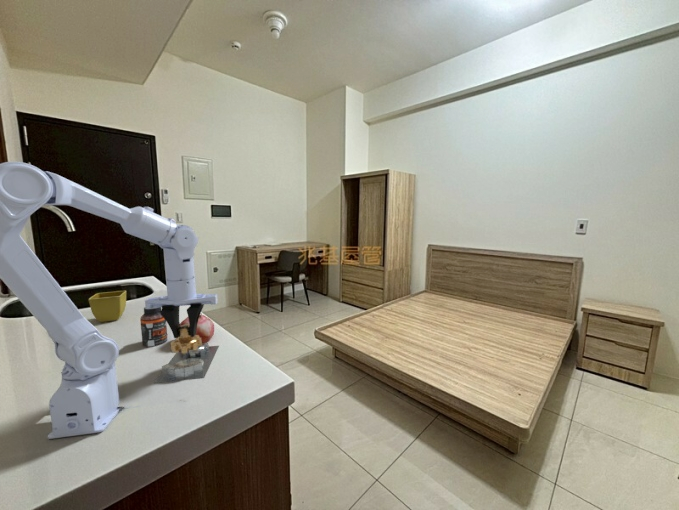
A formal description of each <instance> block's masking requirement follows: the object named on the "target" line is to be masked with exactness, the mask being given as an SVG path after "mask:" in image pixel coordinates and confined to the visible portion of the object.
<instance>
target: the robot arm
mask: <svg viewBox="0 0 679 510" xmlns="http://www.w3.org/2000/svg"><path fill="white" fill-rule="evenodd" d="M43 206H69V207H73V208H75V209H78V210H81V211H83V212H86V213H90V214H92V215H95V216H97V217H101V218H104V219H106V220H109V221H112V222H115V223H117V224H120V226H121V228H122V229H123V231H124V233H126V234H127V235H128V234H129V235H131V236H134V237H135V238H136V237H137V238H139V239H142V240H145V241H148V242H150V243H152V244H155V245H158V246H159V247H160V248H161V249H163V260H164V271H165V281H166V292H167V293H166V294H167V295H164V296H163V295H162V296H158V297H156V296H155V297H148V298H146V299H145V300H144V302H145V303H144V304H145V306H144V307H146V309H150V308H152V307H161V311H160V314H161V315H162V316H163V318H164V319H165V320H166V324H168V326H169V328H170V330H171V332H172V335H173V338H174V339H176V338H178V337H179V333H178V327H179V326H180V323H181V322H180V307H182V306H185V307H186V306H189V307H188V308H186V313H187V317H188V318H189V324H190V337H194V336H195V334H196V329H197V323H198V319H199V316H200V315H201V313H202V311H203V308H204V306H205V305H212V306H214V305H215V306H216V305H217V304H218V302H219V301H218V294H215V293H214V294H210V293H209V294H208V293H197V286H196V274H195V273H196V272H195V261H194V258H195V257H194V256H195V248H196V247H197V246H198V242H199V237H198V236H197V235H196V233H195V231H194V229H193V228H192V227H190V226H189V225H185V224H177V223H176V220H175V219H173V218H166V217H164V216H162V215H160V214H157V213H155V212H154V210H155V209H154V208H152V207H149V206H143V207H142V206H135V207H131V208H128V207H127V206H124V205H122V204H120V203H118V202H117V201H114V200H112V199H110V198H108V197H106V196H103V195H102V194H99V193H98V192H95V191H93V190H91V189H89V188H87V187H85V186H83V185H81V184H79V183H76V182H74V181H73V180H70V179H67V178H66V177H63V176H61V175H59V174H57V173H54V172H52V171H51V172H50V171H44V170H42V169H40V168H39V167H37V166H35V165H32V164H30V163H26V162H23V161H6V162H1V163H0V280H1V281H2V282H3V283H4V284H5V286H7V287H8V289H9V290H10V291H11V292H12V294H14V296H15V297H16V299H18V300H19V301H20V302H21V303H22V305H23V306H24V307H25V308H26V309H27V310H28V311H29V312H30V313H31V315H32V316H33V317H34V318H35V319H36V320H37V321H38V323H39V324H40V325H41V326H42V327H43V328H44V330H45V331H46V332H47V335H48V337H49V338H50V340H52V342H53V344H54V353H55V356H56V357H57V358H58V359H59V360H60V361H63V362H64V363H65V364H64V365H63V367H62V371H61V372H60V373H61V382H60V385H59V387H58V388H57V390H56V391H55V392H54V393H53V394H52V396H50V398H49V403H48V408H49V413H50V421H51V426H52V427H51V428H52V431H51V432H50V433H49V434H48V435H47V439H50V440H52V439H59V438H65V437H73V436H82V435H90V434H96V433H101V432H103V431H105V429H106V428H107V427H108V426H109V424H110V423H111V422H112V421H113V420H114V418H115V417H116V416H117V415H118V413H119V412H120V411H121V409H123V406H119V405H120V394H119V387H118V385H119V384H118V376H117V370H116V369H117V368H116V361H117V359H118V358H119V353H120V347H119V344H118V343H117V342H116V341H115V340H114V339H112V338H110V337H107V336H104V335H103V334H102V333H101V332H100V331H99V330H98V328H96V326H94V325H93V324H92V323H91V322H90V321H89V320H88V319H87V318H86V317H85V316H84V315H83V314H82V312H81V311H80V310H79V309H78V307H77V305H75V303H74V302H73V301H72V300H71V298H70V297H69V296H68V294H67V293H66V292H65V291H64V289H63V288H62V287H61V286H60V284H59V282H58V281H57V280H56V279H55V278H54V277H53V275H52V274H51V273H50V272H49V270H48V269H47V268H46V267H45V265H44V264H43V263H42V261H41V260H40V259H39V257H38V256H37V255H36V254H35V252H34V251H33V250H32V249H31V247H30V246H29V245H28V244H27V242H26V241H25V240H24V238H23V237H22V236H21V234H22V232H23V230H24V228H25V226H26V225H27V223H28V221H29V219H30V217H31V216H32V215H33V214H34V213H35V212H36V211H37V210H39V209H40V208H41V207H43Z"/></svg>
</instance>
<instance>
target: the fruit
mask: <svg viewBox="0 0 679 510" xmlns="http://www.w3.org/2000/svg"><path fill="white" fill-rule="evenodd" d="M179 323H180V326H181V325H185V324H189V318H188V316H187V317H186V318H185V319H183V320H182V321H181V322H179ZM214 333H215V323H214V322H213V321H212V319H211V318H209V317H208V316H206V315H204V314H202V312H201V313H200V316H199V319H198V323H197V329H196V334H195V335H199V337H200V338H201V342H202V343H205V342H206V343H209V342H210V340H211V339H212V337H214Z"/></svg>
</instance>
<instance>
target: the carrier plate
mask: <svg viewBox="0 0 679 510" xmlns="http://www.w3.org/2000/svg"><path fill="white" fill-rule="evenodd" d="M219 347H220V345H211V346H210V345H209V352H206V353H205V355H203V356H196V357H195V358H190V357H187V358H185V357H184V355H183V353H182V352H178V353H174V355H173V357H172V358H171V360H170V361H169V362H168V363H167V364H169V365H171V366H184V365H189V364H192V363H195V362H198V361H200V362H202V370H203V372H202V373H200V374H198V375H195V376H192V377H189V378H184V379H167V378H165V377H163V374H162V372H160V374H159V375H158V377H157V378H156V379H155V381H154V382H153V384H160V383H161V384H163V383H169V382H180V381H188V380H189V381H190V380H199V379H205V378H206V376H207V373H208V371H209V368H210V366H211V365H212V362H213V360H214V358H215V356H216V354H217V351H218V349H219Z"/></svg>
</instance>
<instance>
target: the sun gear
mask: <svg viewBox="0 0 679 510" xmlns="http://www.w3.org/2000/svg"><path fill="white" fill-rule="evenodd" d="M208 343H209V342H205V343H202V344H201V346H198V349H196V350H194V351H193V350H190V351H188V352H187V353H183V355H184V357H185V358H187V357H190V358H195V357H196V356H203V355H205V353H206V352H209V346H210V345H209V344H208Z"/></svg>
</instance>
